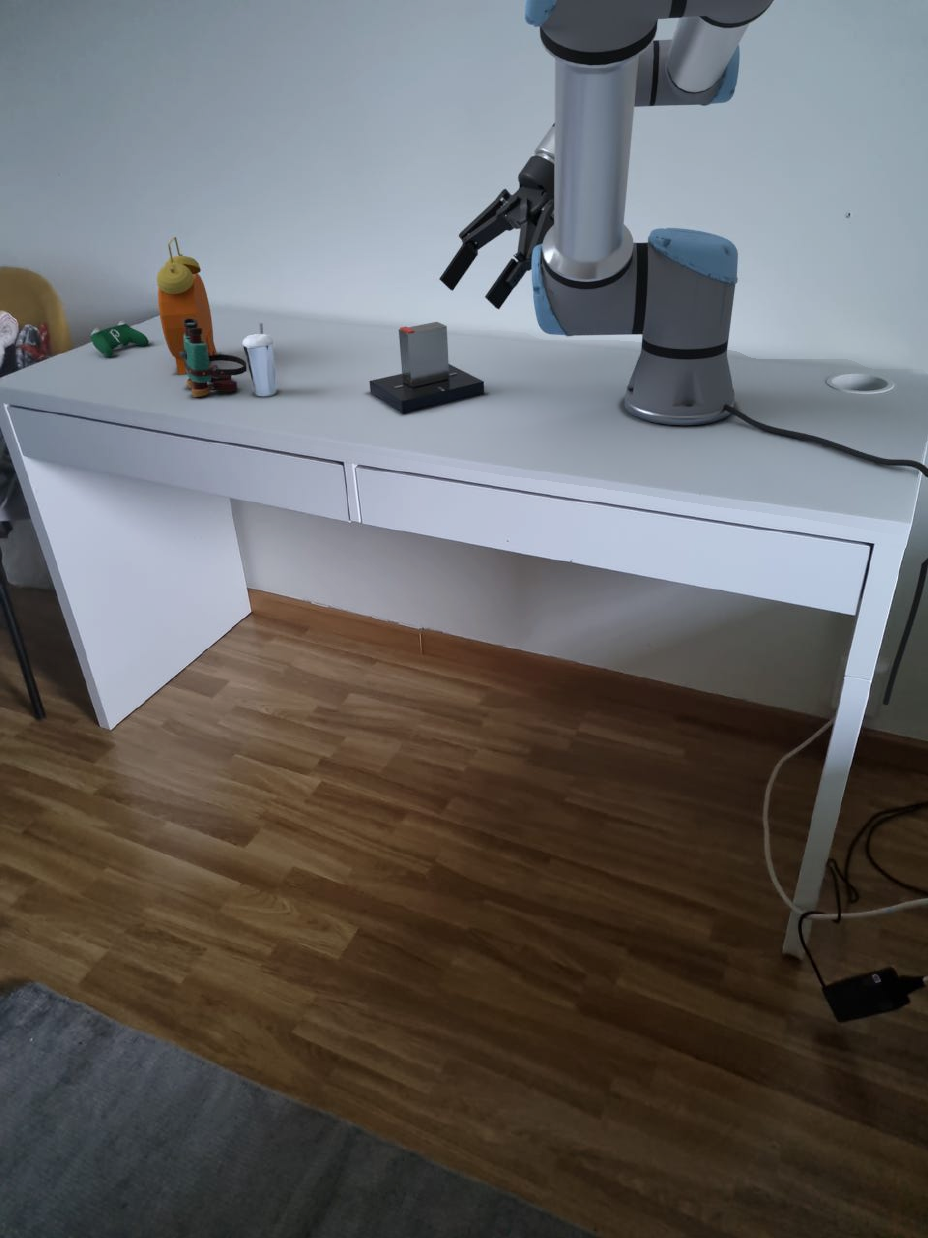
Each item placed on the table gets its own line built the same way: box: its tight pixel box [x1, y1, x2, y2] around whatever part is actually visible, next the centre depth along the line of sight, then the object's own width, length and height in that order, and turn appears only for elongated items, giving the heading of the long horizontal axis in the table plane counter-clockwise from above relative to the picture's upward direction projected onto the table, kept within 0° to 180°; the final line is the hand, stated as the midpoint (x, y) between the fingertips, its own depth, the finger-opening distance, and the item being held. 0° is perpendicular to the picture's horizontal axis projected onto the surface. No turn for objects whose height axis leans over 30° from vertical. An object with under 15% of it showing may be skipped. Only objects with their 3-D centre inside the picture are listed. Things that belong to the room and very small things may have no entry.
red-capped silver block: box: [398, 321, 450, 388], centre depth 133 cm, size 6×3×8 cm, turn 120°
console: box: [369, 363, 485, 415], centre depth 136 cm, size 14×11×2 cm
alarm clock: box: [156, 236, 218, 375], centre depth 148 cm, size 13×6×20 cm, turn 6°
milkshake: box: [241, 322, 277, 398], centre depth 137 cm, size 4×5×10 cm
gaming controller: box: [90, 319, 150, 358], centre depth 162 cm, size 9×4×6 cm
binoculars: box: [179, 318, 248, 398], centre depth 140 cm, size 9×11×10 cm
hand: (467, 293), depth 133 cm, fingers open, 13 cm apart
